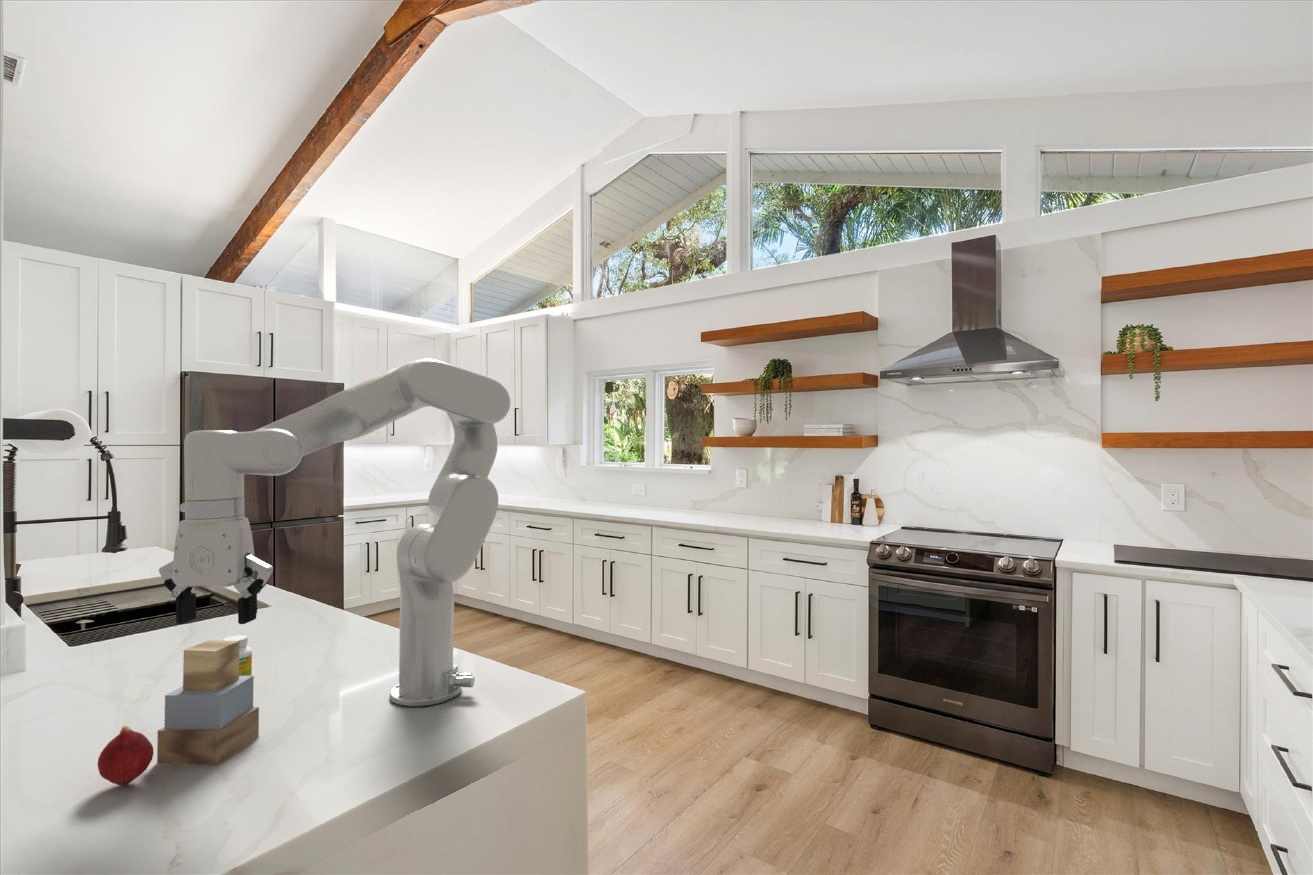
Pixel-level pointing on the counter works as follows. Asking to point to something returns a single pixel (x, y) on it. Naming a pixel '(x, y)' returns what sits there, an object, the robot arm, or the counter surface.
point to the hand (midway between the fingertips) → (216, 621)
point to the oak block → (211, 665)
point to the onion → (125, 757)
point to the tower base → (207, 742)
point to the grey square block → (208, 706)
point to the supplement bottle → (243, 655)
